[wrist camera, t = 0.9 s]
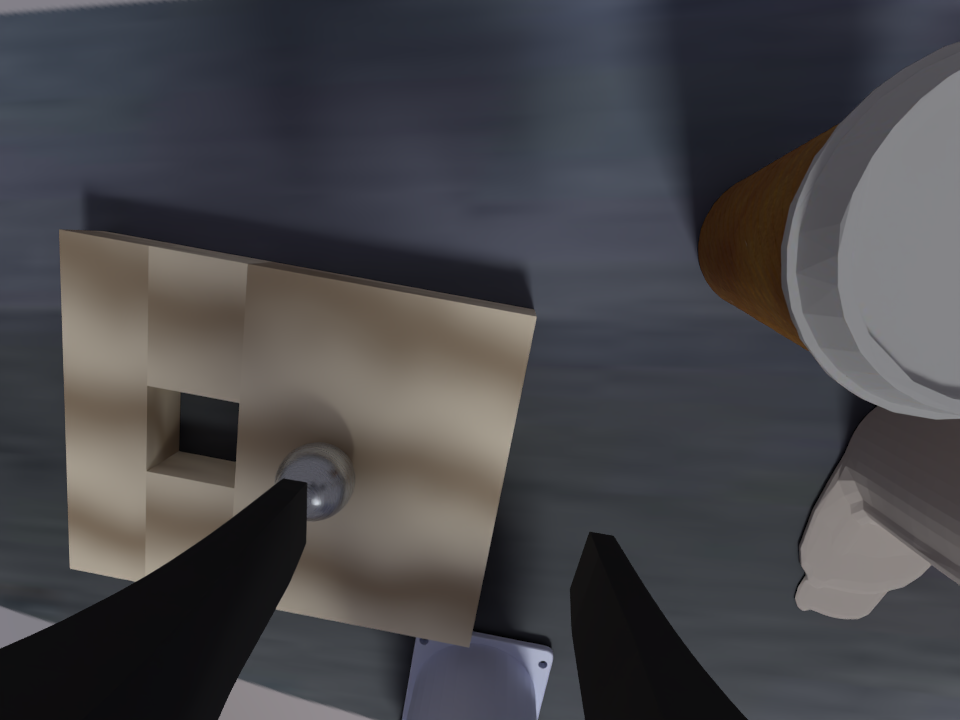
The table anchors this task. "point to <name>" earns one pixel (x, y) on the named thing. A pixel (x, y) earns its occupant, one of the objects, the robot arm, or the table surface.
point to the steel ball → (320, 477)
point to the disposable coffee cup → (859, 243)
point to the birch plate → (289, 421)
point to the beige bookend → (883, 515)
